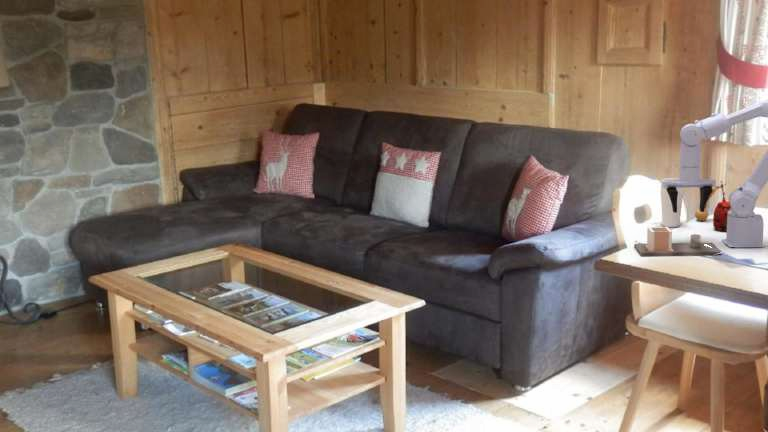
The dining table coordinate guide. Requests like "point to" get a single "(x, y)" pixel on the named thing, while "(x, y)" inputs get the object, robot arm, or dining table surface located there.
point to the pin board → (681, 249)
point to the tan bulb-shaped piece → (703, 215)
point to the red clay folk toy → (721, 213)
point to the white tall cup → (670, 206)
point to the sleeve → (659, 238)
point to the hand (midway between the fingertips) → (688, 211)
